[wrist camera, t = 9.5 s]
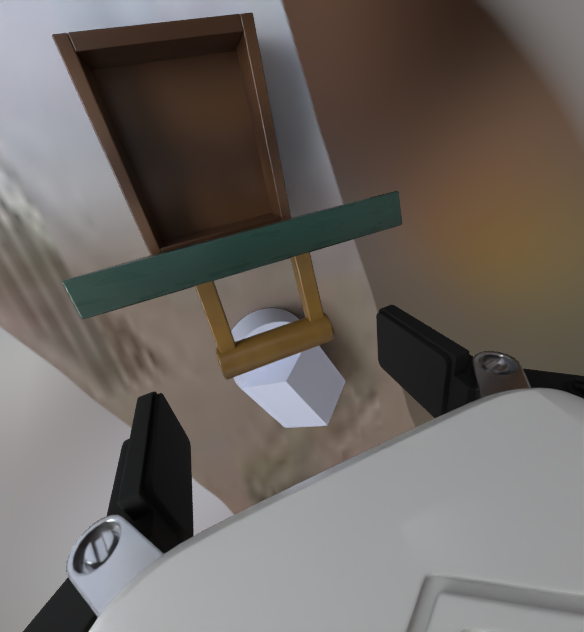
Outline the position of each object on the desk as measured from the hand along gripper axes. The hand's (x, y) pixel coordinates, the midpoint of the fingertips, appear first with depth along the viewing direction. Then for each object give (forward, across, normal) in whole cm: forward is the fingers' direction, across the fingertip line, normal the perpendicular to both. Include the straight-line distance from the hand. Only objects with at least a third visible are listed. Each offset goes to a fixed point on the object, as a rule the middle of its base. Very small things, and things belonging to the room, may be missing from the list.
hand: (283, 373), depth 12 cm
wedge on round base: (+17, -2, +12) cm, 21 cm away
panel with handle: (+7, 0, -5) cm, 8 cm away
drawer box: (+18, 0, -9) cm, 20 cm away
